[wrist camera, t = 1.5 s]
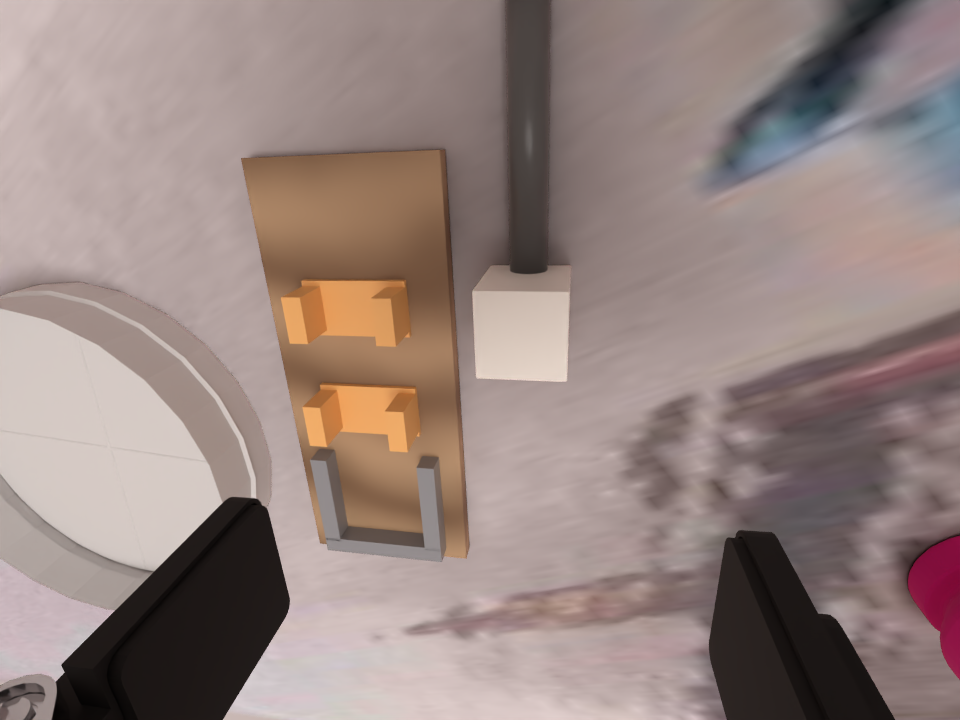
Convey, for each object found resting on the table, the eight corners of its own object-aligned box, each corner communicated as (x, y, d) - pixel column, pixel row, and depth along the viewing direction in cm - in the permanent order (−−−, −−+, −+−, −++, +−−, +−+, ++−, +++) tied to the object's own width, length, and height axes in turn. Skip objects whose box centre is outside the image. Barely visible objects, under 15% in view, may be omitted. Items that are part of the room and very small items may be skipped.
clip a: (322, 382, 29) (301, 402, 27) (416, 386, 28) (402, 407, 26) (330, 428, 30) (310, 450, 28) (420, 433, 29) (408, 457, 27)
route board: (253, 157, 26) (241, 158, 25) (445, 149, 24) (439, 149, 23) (327, 532, 35) (320, 543, 34) (469, 547, 33) (466, 558, 32)
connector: (481, -49, 21) (454, -103, 16) (580, -60, 20) (581, -120, 15) (493, 339, 27) (476, 378, 23) (568, 341, 26) (566, 381, 22)
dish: (251, 297, 29) (191, 326, 25) (292, 582, 38) (254, 641, 33) (-68, 266, 32) (-173, 286, 28) (39, 535, 41) (-28, 583, 37)
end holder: (319, 448, 31) (309, 459, 30) (438, 457, 30) (433, 469, 28) (336, 536, 33) (327, 549, 32) (446, 547, 32) (441, 562, 31)
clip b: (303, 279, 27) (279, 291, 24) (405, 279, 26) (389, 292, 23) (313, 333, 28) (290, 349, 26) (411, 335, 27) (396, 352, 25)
